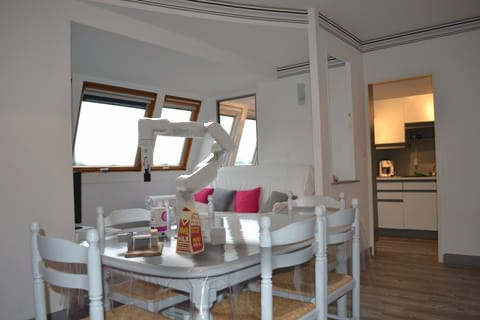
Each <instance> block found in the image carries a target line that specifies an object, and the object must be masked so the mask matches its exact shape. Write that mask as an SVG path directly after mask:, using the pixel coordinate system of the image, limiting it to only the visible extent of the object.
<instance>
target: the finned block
mask: <svg viewBox="0 0 480 320" xmlns="http://www.w3.org/2000/svg"><path fill="white" fill-rule="evenodd" d="M150 243H151V238H140V239H133V244H134V250H142V249H149V247H150Z"/></svg>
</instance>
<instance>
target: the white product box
mask: <svg viewBox="0 0 480 320" xmlns="http://www.w3.org/2000/svg"><path fill="white" fill-rule="evenodd" d="M167 216H168V213H167V209H166V206H156V207H155V206H154V207H151V209H150V231H151V230H153V229H157V231H158V239H159V238H165V237H167V235H168V219H167V218H168V217H167Z"/></svg>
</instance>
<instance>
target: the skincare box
mask: <svg viewBox="0 0 480 320" xmlns="http://www.w3.org/2000/svg"><path fill="white" fill-rule="evenodd" d="M209 231H210V232H209V235H210V236H209V237H210V244H212V245H213V246H216V245H217V246H219V245H226V244H227V236H226V235H227V234H226V233H227V232H226V231H227V230H226V227H224V226H222V225H220V226H210V227H209Z"/></svg>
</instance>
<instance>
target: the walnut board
mask: <svg viewBox="0 0 480 320" xmlns="http://www.w3.org/2000/svg"><path fill="white" fill-rule="evenodd" d="M163 247H164V241H158V246H151V242H150V247H149V249H142V250H134V243H133V248H132V250H128V249H127V250H126V252H125V254H124V258H137V257H138V258H139V257H152V256H162V253H163Z"/></svg>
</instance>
